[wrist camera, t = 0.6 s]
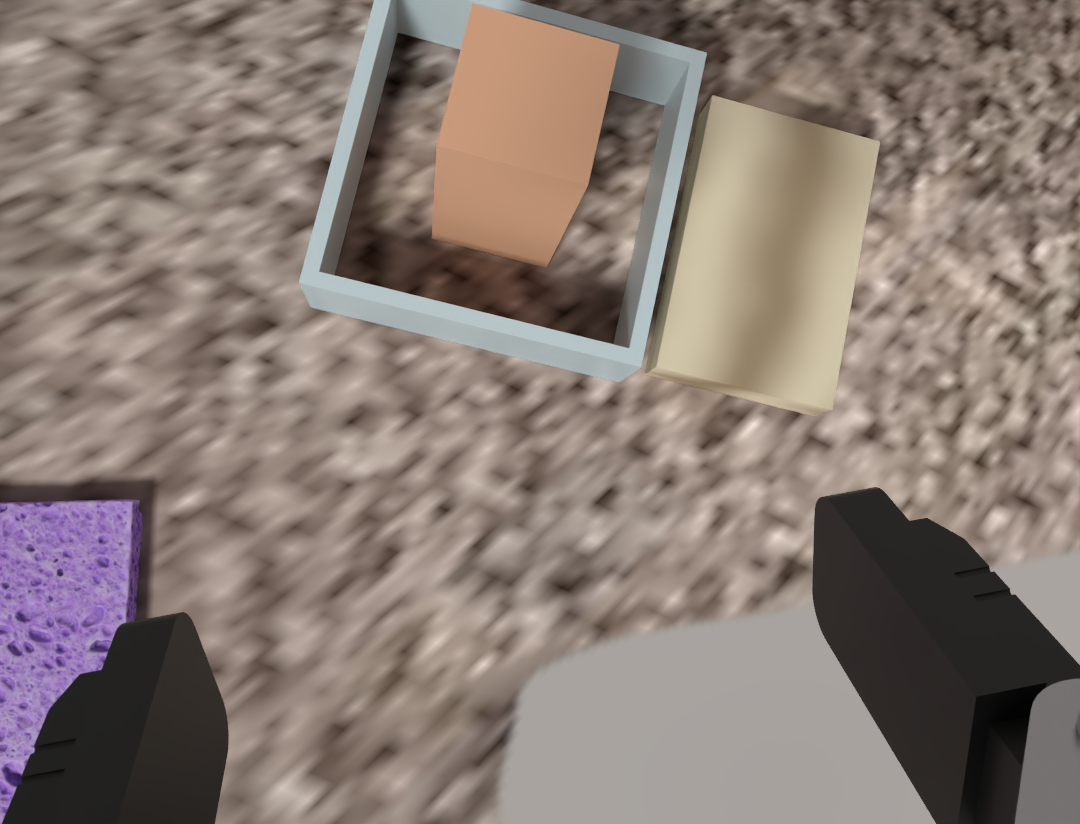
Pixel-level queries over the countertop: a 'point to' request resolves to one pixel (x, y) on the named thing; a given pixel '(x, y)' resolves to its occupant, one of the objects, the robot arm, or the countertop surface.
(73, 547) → the sponges
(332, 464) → the countertop surface
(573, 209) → the terracotta box
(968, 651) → the robot arm
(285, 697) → the countertop surface
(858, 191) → the block
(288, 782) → the countertop surface
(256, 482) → the countertop surface
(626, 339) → the square frame
